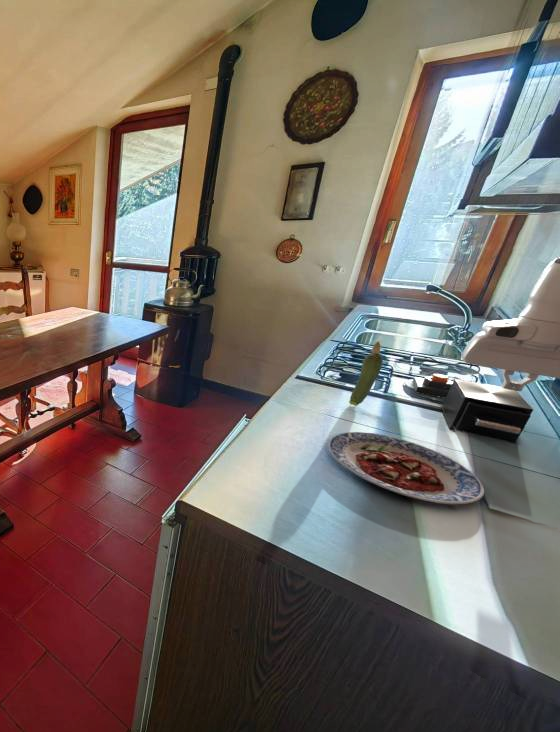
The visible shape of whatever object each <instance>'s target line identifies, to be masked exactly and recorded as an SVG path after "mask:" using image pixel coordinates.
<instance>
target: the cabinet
mask: <svg viewBox="0 0 560 732" xmlns="http://www.w3.org/2000/svg"><path fill="white" fill-rule="evenodd" d="M452 382H453V384H452V386H451V388H450V390H449V393H448V395H447V397H446V398H444V402H443V403H442V404H441V405H442V406H441V408H440V411H441V413H442V416H443V419H444V420H445V423H446V425H447V427H448V429H449V430H450V431H452V432H453V431H454V432H456V429H455V428H456V426H457V423H458V421H459V419H460V417H461V414H462V412H463V410H464V408H465V406H466V404H467V402H468V400H469V401H474V402H479V403H484V404H490V405H495V406H500V407H505V408H511V409H516V410H521V411H522V413H527V414H530V415H532V413H533V411H534V409H533V407H532V406H531V405H530V404H529V402H527V401H526V399H525V398H524V397H523V396H522V395H521V394H520V393H519V391H515V390H510V389H504V388H502V387H501V386H498V385H493V384H487V383H481V382H476V381H470V380H463V379H457V378H455V379H453V381H452ZM454 427H455V428H454Z"/></svg>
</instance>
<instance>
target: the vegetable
mask: <svg viewBox="0 0 560 732" xmlns="http://www.w3.org/2000/svg"><path fill="white" fill-rule="evenodd" d="M380 353H381V343H380V341H378V340H377V341H376V342H375V343H374V345H373V346H372V349H371V353H369V354H367V355H365V357H364V359H363V360H362V362H361V363H362V364H361V369H360V375H359V377H358V381H357V382H356V384H355V386H354V387H353V390H352V392H351V395H350V398H349V401H348V403H349V405H351V406H354V407H358V406H359V405H360V404H361V403H363V402H364V400H365V399H366V398H367V397H368V395H369V394H370V391H371V389H372V387H373V386H374V384H375V382H376V380H377V378H378V376H379V374H380V372H381V369H382V366H383V363H384V362H383V361H384V360H383V356H382V355H380Z"/></svg>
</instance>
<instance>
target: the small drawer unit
mask: <svg viewBox="0 0 560 732" xmlns="http://www.w3.org/2000/svg"><path fill="white" fill-rule="evenodd" d="M531 415H532V414H531ZM531 415H530V414H527V413H522V411H521V410H516V409H511V408H505V407H500V406H495V405H490V404H484V403H479V402H474V401H469V400H468V402H467V404H466V406H465V408H464V410H463V412H462V414H461V417H460V419H459V421H458V423H457V425H456V427H455V431H460V432H464V433H468V434H473V435H478V436H482V437H487V438H491V439H496V440H500V441H504V442H508V443H514V444H516V442H517V441H518V439H519V437H520V436H521V434H522V432H523V430H524V429H525V427H526V425H527V424H528V421H530V419H531Z"/></svg>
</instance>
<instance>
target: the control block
mask: <svg viewBox="0 0 560 732" xmlns="http://www.w3.org/2000/svg"><path fill="white" fill-rule="evenodd" d="M432 376H433V375H426V376H424V378H423V377H417V376H414V377H413V378H412V381H411V382H412V383H413V384H412V383H411V384H412V386H414V387H413V389H415V390H414V393H416V392H419V393H418V394H421V393H424V394H423V395H426V394H429V395H428V396H431V395H434V397H437V396H440V397H439V398H442V397H445V398H444V399H446V397H447V395H448V393H449V390H450V388H451V386H452V384H453V382H454V381H452V380H450V379H448V381H447V383H443V382H437V381H434V380H432Z"/></svg>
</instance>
